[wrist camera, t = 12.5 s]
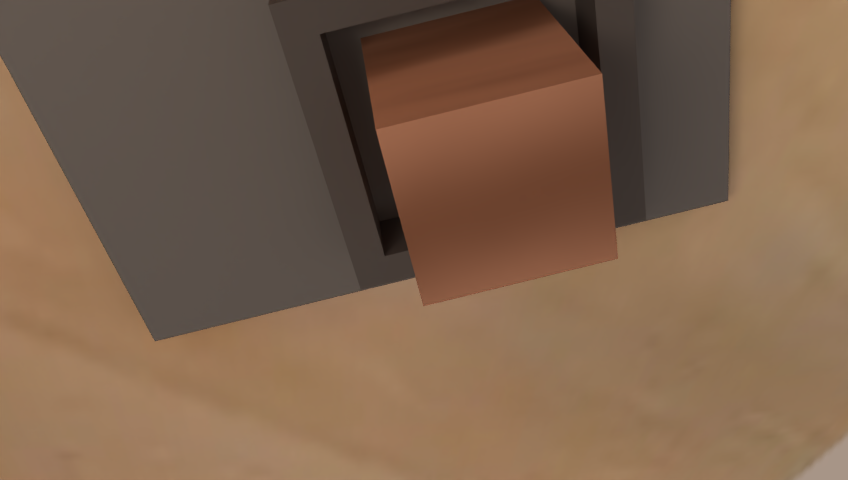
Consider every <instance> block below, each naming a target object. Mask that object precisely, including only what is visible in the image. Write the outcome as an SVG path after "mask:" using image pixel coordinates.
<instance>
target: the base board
mask: <svg viewBox="0 0 848 480" xmlns="http://www.w3.org/2000/svg"><path fill="white" fill-rule="evenodd" d="M508 1H512V0H0V56H1V57H2V59H3V61H4V63H5V65H6V67H7V69H8V70H9V72H10V74H11V76H12V78H13V80H14V81H15V83H16V85H17V87H18V89H19V91H20V93H21V94H22V96H23V98H24V100H25V102H26V104H27V106H28V107H29V109H30V111H31V113H32V115H33V117H34V118H35V120H36V122H37V124H38V126H39V128H40V130H41V131H42V133H43V135H44V137H45V139H46V141H47V143H48V144H49V146H50V148H51V150H52V152H53V154H54V155H55V157H56V159H57V161H58V163H59V165H60V167H61V168H62V170H63V172H64V174H65V176H66V178H67V180H68V181H69V183H70V185H71V187H72V189H73V191H74V192H75V194H76V196H77V198H78V200H79V202H80V204H81V205H82V207H83V209H84V211H85V213H86V215H87V217H88V218H89V220H90V222H91V224H92V226H93V228H94V229H95V231H96V233H97V235H98V237H99V239H100V241H101V242H102V244H103V246H104V248H105V250H106V252H107V254H108V255H109V257H110V259H111V261H112V263H113V265H114V266H115V268H116V270H117V272H118V274H119V276H120V278H121V279H122V281H123V283H124V285H125V287H126V289H127V291H128V292H129V294H130V296H131V298H132V300H133V302H134V303H135V305H136V307H137V309H138V311H139V313H140V315H141V316H142V318H143V320H144V322H145V324H146V326H147V328H148V329H149V331H150V333H151V335H152V337H153V339H154V340H155V341H158V340H162V339H166V338H170V337H174V336H178V335H182V334H186V333H191V332H195V331H199V330H203V329H207V328H211V327H215V326H219V325H223V324H227V323H231V322H235V321H239V320H243V319H248V318H252V317H256V316H260V315H264V314H268V313H272V312H276V311H280V310H284V309H288V308H292V307H296V306H301V305H305V304H309V303H313V302H317V301H321V300H325V299H329V298H333V297H337V296H341V295H345V294H349V293H354V292H358V291H362V290H366V289H370V288H374V287H378V286H382V285H386V284H390V283H394V282H398V281H402V280H407V279H411V278H415V273H414V269H413V266H412V262H411V258H410V255H409V251H408V247H407V243H406V240H405V236H404V232H403V229H402V225H401V221H400V218H399V214H398V210H397V207H396V203H395V199H394V195H393V192H392V188H391V184H390V181H389V177H388V173H387V170H386V166H385V162H384V159H383V155H382V151H381V148H380V144H379V140H378V136H377V133H376V129H375V123H374V117H373V111H372V105H371V99H370V93H369V87H368V81H367V75H366V69H365V63H364V57H363V51H362V45H361V39H360V38H363V37H367V36H371V35H375V34H379V33H383V32H387V31H391V30H395V29H399V28H403V27H407V26H411V25H415V24H419V23H423V22H427V21H431V20H435V19H439V18H443V17H447V16H451V15H455V14H459V13H463V12H467V11H471V10H475V9H479V8H483V7H487V6H492V5H496V4H500V3H504V2H508ZM540 1H541V3H542V4H543V5H544V6H545V7H546V8H547V10H548V11H549V12H550V13H551V14H552V15H553V17H554V18H555V19H556V20H557V21H558V22H559V24H560V25H561V26H562V27H563V28H564V29H565V31H566V32H567V33H568V34H569V35H570V36H571V38H572V39H573V40H574V41H575V42H576V44H577V45H578V46H579V47H580V48H581V49H582V51H583V52H584V53H585V54H586V55H587V56H588V58H589V59H590V60H591V61H592V62H593V63H594V65H595V66H596V67H597V68H598V69H599V70H600V72H601V73H602V78H603V89H604V101H605V113H606V125H607V136H608V148H609V160H610V172H611V183H612V195H613V207H614V219H615V228H618V227H622V226H627V225H631V224H635V223H639V222H643V221H647V220H651V219H655V218H659V217H663V216H667V215H671V214H675V213H680V212H684V211H688V210H692V209H696V208H700V207H704V206H708V205H712V204H716V203H720V202H724V201H728V173H729V95H730V17H731V0H540Z"/></svg>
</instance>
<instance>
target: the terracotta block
mask: <svg viewBox="0 0 848 480" xmlns="http://www.w3.org/2000/svg"><path fill="white" fill-rule="evenodd" d="M360 39H361V45H362V51H363V57H364V63H365V69H366V75H367V81H368V87H369V93H370V99H371V105H372V111H373V117H374V123H375V129H376V133H377V136H378V140H379V144H380V148H381V151H382V155H383V159H384V162H385V166H386V170H387V173H388V177H389V181H390V184H391V188H392V192H393V195H394V199H395V203H396V207H397V210H398V214H399V218H400V221H401V225H402V229H403V232H404V236H405V240H406V243H407V247H408V251H409V255H410V258H411V262H412V266H413V269H414V273H415V277H416V280H417V284H418V288H419V291H420V295H421V299H422V302H423V306H426V305H430V304H434V303H438V302H442V301H446V300H451V299H455V298H459V297H463V296H467V295H471V294H475V293H479V292H483V291H487V290H491V289H495V288H500V287H504V286H508V285H512V284H516V283H520V282H524V281H528V280H532V279H536V278H540V277H545V276H549V275H553V274H557V273H561V272H565V271H569V270H573V269H577V268H581V267H585V266H589V265H594V264H598V263H602V262H606V261H610V260H614V259H618V254H617V242H616V230H615V219H614V207H613V195H612V183H611V172H610V160H609V148H608V136H607V125H606V113H605V101H604V89H603V78H602V73H601V72H600V70H599V69H598V68H597V67H596V66H595V65H594V63H593V62H592V61H591V60H590V59H589V58H588V56H587V55H586V54H585V53H584V52H583V51H582V49H581V48H580V47H579V46H578V45H577V44H576V42H575V41H574V40H573V39H572V38H571V36H570V35H569V34H568V33H567V32H566V31H565V29H564V28H563V27H562V26H561V25H560V24H559V22H558V21H557V20H556V19H555V18H554V17H553V15H552V14H551V13H550V12H549V11H548V10H547V8H546V7H545V6H544V5H543V4H542V3H541V1H540V0H512V1H508V2H504V3H500V4H496V5H492V6H487V7H483V8H479V9H475V10H471V11H467V12H463V13H459V14H455V15H451V16H447V17H443V18H439V19H435V20H431V21H427V22H423V23H419V24H415V25H411V26H407V27H403V28H399V29H395V30H391V31H387V32H383V33H379V34H375V35H371V36H367V37H363V38H360Z"/></svg>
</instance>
